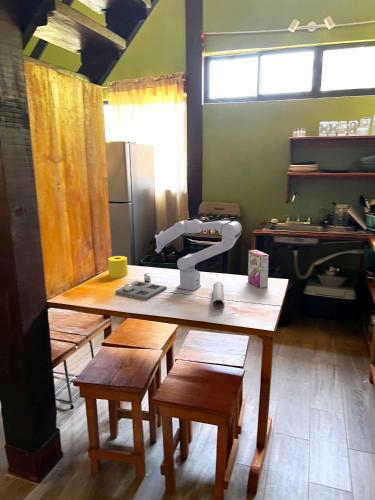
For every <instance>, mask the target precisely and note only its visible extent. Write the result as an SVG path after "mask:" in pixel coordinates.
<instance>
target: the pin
mask: <svg viewBox="0 0 375 500" xmlns="http://www.w3.org/2000/svg"><path fill="white" fill-rule="evenodd" d="M124 286H125V292H129V293H130V292H132V285H131V283H128V284H124Z"/></svg>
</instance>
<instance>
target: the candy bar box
mask: <svg viewBox="0 0 375 500" xmlns="http://www.w3.org/2000/svg"><path fill="white" fill-rule="evenodd" d="M247 254H248V259H247V260H248V262H247V263H248V267H247V268H248V269H247V282H248V283H250V284H252V285H253V286H256V287H257V288H258V289H264V288H268V286H269V285H268V283H269V262H270V261H269V260H270V259H269V258H270V257H269V256H270V254H267V253H265V252H262V251H260V250H258V249H251V250H250V249H249V250H248V253H247Z"/></svg>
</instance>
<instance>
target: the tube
mask: <svg viewBox="0 0 375 500" xmlns="http://www.w3.org/2000/svg"><path fill="white" fill-rule="evenodd" d="M212 286H213V287H212V288H213V290H212V302H211V308H212V309H213V311H216V312H218V311H219V312H221V311H223V310H224V309H225V307H226V306H225V297H224V295H225V294H224V292H225V291H224V284H223V283H222V281H216V282H214V283H213V285H212Z"/></svg>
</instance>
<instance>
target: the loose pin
mask: <svg viewBox="0 0 375 500" xmlns="http://www.w3.org/2000/svg"><path fill="white" fill-rule="evenodd" d="M143 282H145V283H151V273H144V274H143Z"/></svg>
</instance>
